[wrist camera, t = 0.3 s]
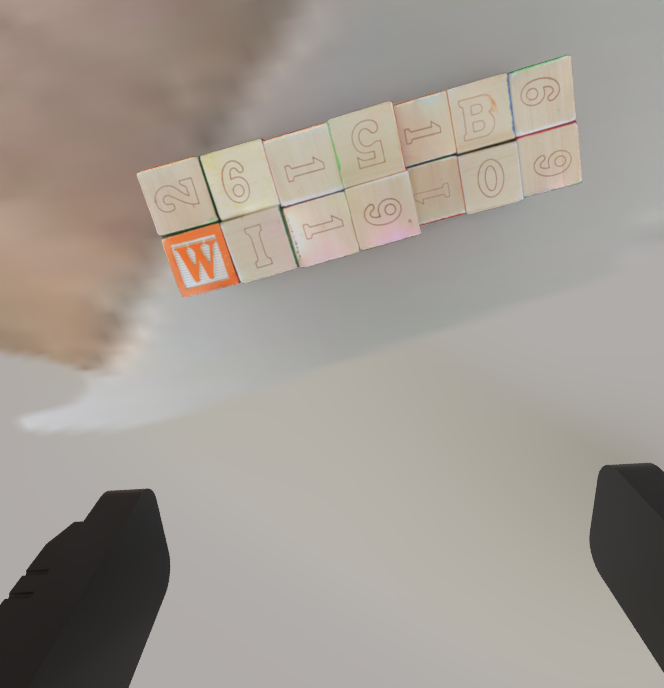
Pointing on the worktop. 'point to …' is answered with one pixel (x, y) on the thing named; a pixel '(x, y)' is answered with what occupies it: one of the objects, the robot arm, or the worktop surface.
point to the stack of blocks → (364, 177)
